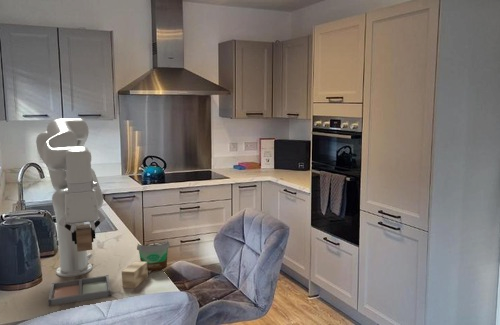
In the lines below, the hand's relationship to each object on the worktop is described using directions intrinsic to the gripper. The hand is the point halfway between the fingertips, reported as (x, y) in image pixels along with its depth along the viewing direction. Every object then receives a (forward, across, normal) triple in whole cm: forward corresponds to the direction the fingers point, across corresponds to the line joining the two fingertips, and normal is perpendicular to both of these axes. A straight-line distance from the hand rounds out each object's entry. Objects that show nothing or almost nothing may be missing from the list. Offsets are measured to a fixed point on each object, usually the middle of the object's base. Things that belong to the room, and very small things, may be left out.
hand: (83, 241), depth 148 cm
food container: (+17, -25, -10) cm, 32 cm away
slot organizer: (+17, +2, 0) cm, 17 cm away
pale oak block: (+17, -16, 0) cm, 24 cm away
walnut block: (+2, 0, 0) cm, 2 cm away
